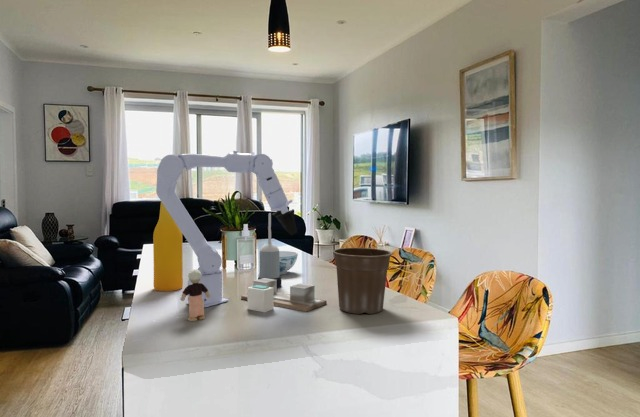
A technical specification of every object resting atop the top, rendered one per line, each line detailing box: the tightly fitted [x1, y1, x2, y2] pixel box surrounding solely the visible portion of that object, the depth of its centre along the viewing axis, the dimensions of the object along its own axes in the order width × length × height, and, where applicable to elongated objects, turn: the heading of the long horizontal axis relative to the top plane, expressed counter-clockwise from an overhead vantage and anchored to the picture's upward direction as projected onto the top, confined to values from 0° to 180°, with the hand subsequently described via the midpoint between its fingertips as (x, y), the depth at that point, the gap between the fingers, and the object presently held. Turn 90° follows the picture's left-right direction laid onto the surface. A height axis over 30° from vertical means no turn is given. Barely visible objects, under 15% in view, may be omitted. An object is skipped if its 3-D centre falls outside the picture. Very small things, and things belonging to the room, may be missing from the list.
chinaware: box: [279, 250, 299, 276], centre depth 179 cm, size 15×15×8 cm
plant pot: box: [332, 247, 393, 315], centre depth 125 cm, size 16×16×16 cm
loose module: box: [246, 285, 275, 313], centre depth 125 cm, size 4×6×6 cm, turn 56°
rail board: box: [240, 278, 327, 312], centre depth 133 cm, size 10×24×6 cm, turn 56°
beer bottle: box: [152, 201, 184, 292], centre depth 150 cm, size 9×9×29 cm
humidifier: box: [257, 212, 282, 289], centre depth 154 cm, size 8×8×25 cm
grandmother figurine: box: [180, 269, 210, 322], centre depth 115 cm, size 8×4×13 cm, turn 141°
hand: (291, 232), depth 139 cm, fingers open, 7 cm apart
